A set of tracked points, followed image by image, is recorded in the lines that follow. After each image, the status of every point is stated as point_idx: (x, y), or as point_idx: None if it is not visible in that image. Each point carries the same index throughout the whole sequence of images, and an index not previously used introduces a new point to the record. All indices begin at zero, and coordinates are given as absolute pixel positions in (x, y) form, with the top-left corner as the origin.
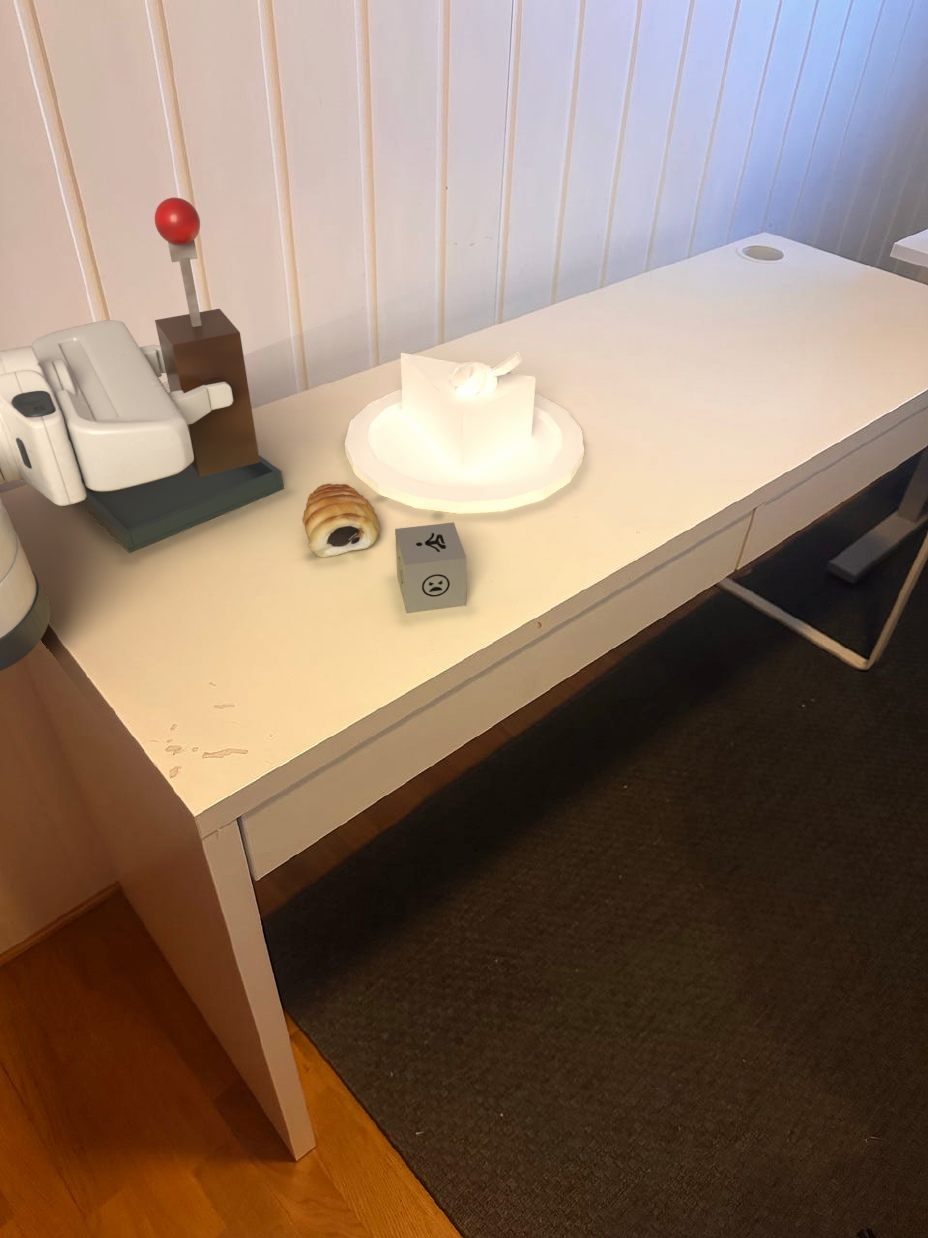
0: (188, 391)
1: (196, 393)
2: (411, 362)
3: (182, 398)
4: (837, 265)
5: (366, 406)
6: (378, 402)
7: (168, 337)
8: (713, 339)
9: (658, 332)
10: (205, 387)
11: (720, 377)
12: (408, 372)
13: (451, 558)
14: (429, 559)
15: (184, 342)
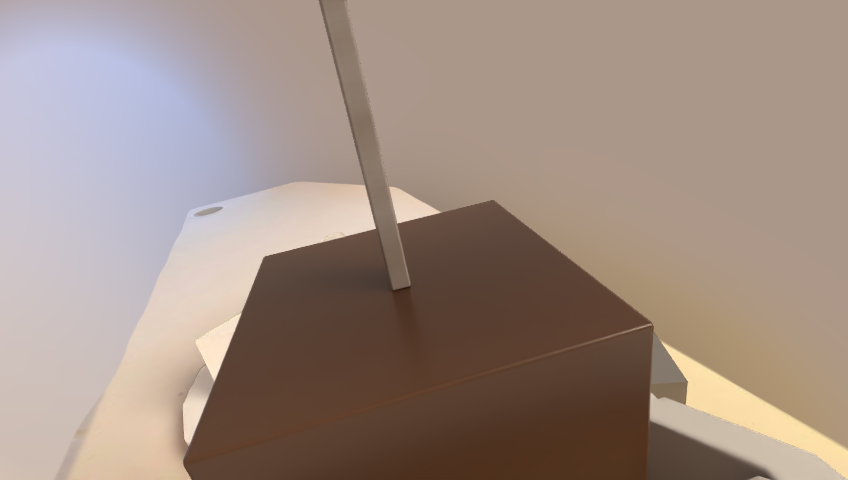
0: (735, 456)
1: (735, 426)
2: (229, 331)
3: (844, 477)
4: (252, 195)
5: (189, 442)
6: (192, 427)
7: (537, 350)
8: (285, 231)
9: (252, 248)
10: (655, 401)
11: (333, 231)
12: (226, 349)
13: (656, 338)
14: (664, 357)
15: (601, 288)
